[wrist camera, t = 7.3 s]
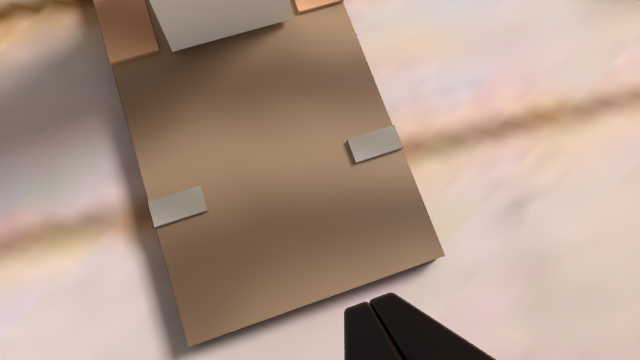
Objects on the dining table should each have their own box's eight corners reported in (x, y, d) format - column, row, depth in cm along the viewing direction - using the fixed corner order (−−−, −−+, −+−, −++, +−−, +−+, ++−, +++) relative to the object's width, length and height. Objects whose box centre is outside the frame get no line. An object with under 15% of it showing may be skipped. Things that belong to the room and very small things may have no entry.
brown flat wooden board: (437, 258, 20) (446, 254, 19) (193, 345, 19) (187, 347, 18) (301, -83, 24) (302, -103, 23) (90, -31, 23) (79, -49, 21)
